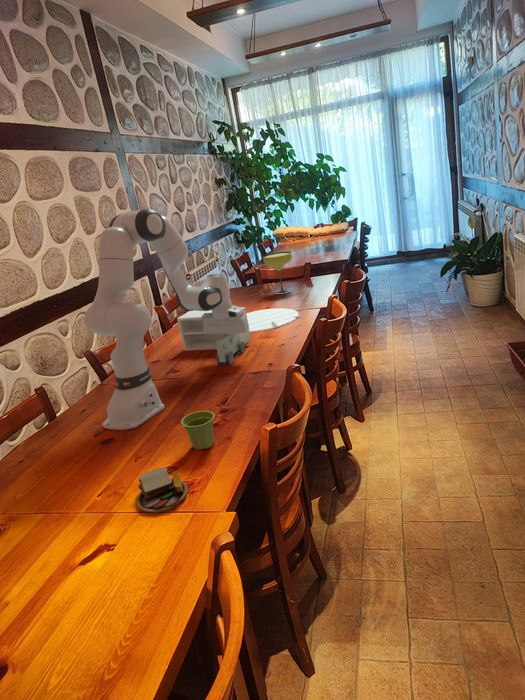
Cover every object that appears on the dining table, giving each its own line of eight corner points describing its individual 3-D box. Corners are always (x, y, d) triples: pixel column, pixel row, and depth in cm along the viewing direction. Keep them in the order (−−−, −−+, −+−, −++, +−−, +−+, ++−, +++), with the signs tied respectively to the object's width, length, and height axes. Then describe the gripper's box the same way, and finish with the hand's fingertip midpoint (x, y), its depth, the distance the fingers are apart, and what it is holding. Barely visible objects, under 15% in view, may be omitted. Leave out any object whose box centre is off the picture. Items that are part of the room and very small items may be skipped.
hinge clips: (230, 364, 195) (228, 355, 194) (217, 365, 197) (215, 355, 196) (245, 350, 209) (243, 341, 208) (232, 351, 211) (230, 342, 210)
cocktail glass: (283, 288, 318) (278, 251, 310) (302, 290, 304) (296, 251, 296) (263, 295, 308) (257, 257, 300) (281, 297, 294) (275, 257, 286)
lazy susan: (312, 319, 239) (311, 313, 238) (241, 339, 227) (239, 332, 226) (280, 306, 275) (279, 300, 274) (217, 322, 263) (216, 317, 262)
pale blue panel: (227, 361, 194) (223, 341, 191) (219, 362, 195) (215, 341, 192) (243, 346, 210) (239, 327, 207) (236, 346, 211) (232, 327, 208)
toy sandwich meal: (139, 522, 108) (134, 505, 107) (136, 490, 120) (131, 474, 119) (192, 504, 111) (188, 487, 110) (183, 475, 123) (179, 459, 122)
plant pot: (204, 433, 143) (198, 408, 140) (226, 440, 137) (220, 413, 134) (181, 449, 136) (174, 422, 133) (203, 456, 130) (197, 429, 127)
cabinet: (241, 348, 213) (235, 314, 207) (184, 350, 224) (177, 318, 219) (250, 339, 223) (245, 307, 218) (196, 341, 234) (189, 311, 229)
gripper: (197, 315, 197) (204, 346, 202) (241, 312, 190) (247, 344, 194) (204, 311, 203) (210, 341, 207) (247, 308, 195) (252, 339, 200)
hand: (228, 342), depth 201 cm, fingers closed on pale blue panel, 2 cm apart
